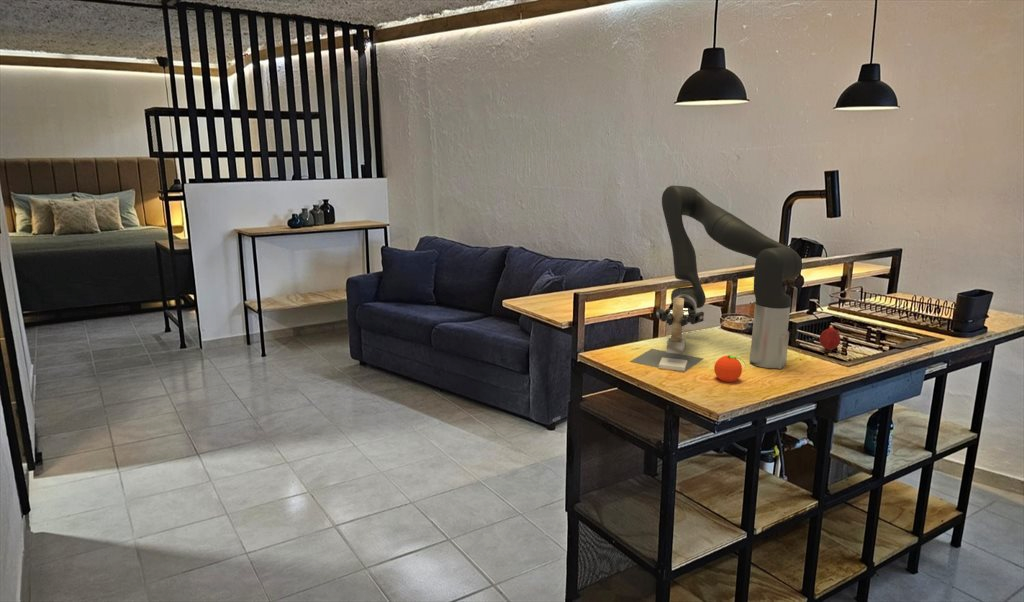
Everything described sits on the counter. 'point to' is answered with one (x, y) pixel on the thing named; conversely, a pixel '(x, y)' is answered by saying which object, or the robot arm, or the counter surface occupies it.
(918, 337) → the counter surface
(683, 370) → the tile
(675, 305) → the pusher
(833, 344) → the onion
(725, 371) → the clementine
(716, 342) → the counter surface
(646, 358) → the mat
